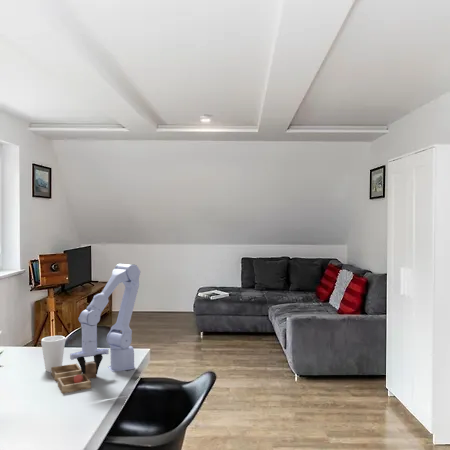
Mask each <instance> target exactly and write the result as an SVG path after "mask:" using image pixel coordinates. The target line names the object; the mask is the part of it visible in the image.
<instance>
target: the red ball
mask: <svg viewBox="0 0 450 450" xmlns="http://www.w3.org/2000/svg"><path fill="white" fill-rule="evenodd" d="M82 381H83V377H82V375H76V376H75V377H74V382H75V383H81V382H82Z"/></svg>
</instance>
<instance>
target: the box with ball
mask: <svg viewBox="0 0 450 450" xmlns="http://www.w3.org/2000/svg"><path fill="white" fill-rule="evenodd" d="M80 375H82V377H83V381H82V382H81V383H75V382H74V377H75V376H76V375H74V376H68V377H62V378H58V381H57V387H58V388H59V390H60V392H61V393H62V394H67V393H68V394H69V393H73V392H77V391H84V390H88V389H89V390H90V389H92V381H91V379H89V378H88V377H87V376H86V375H85V374H80Z"/></svg>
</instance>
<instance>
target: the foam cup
mask: <svg viewBox="0 0 450 450" xmlns="http://www.w3.org/2000/svg"><path fill="white" fill-rule="evenodd" d="M40 341H41V343H40V345H41V348H42V349H41V350H42V355H43V362H44V369H45V371H46V372H49V373H51V367H57V366H63V361H64V353H65V346H66V345H65V344H66V337H65V336H63V335H52V336H51V335H49V336H45V337H43V338H42V339H41V340H40Z"/></svg>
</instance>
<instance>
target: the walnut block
mask: <svg viewBox="0 0 450 450" xmlns="http://www.w3.org/2000/svg"><path fill="white" fill-rule="evenodd" d="M85 375H86V376H87V377H88V378H89V380H91V379H96V378H97V374H96V363H95V362H94V360H92V361H86V362H85Z"/></svg>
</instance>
